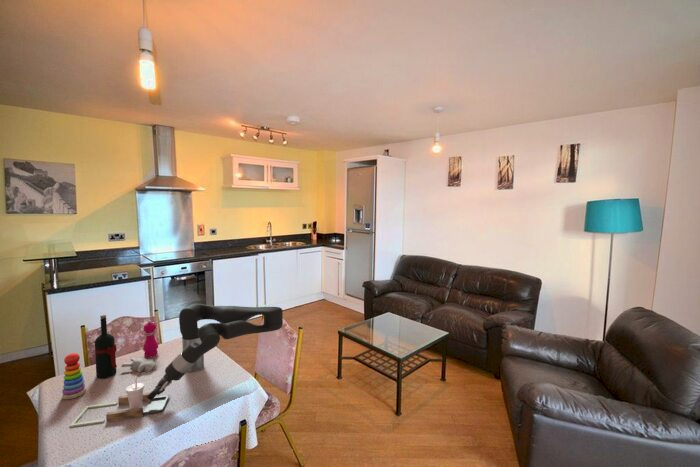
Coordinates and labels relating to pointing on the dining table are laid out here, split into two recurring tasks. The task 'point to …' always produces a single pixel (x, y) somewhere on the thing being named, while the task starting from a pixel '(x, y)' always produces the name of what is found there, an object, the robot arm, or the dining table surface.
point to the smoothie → (135, 394)
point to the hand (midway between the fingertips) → (149, 397)
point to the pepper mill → (150, 340)
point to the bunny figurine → (141, 364)
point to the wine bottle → (105, 352)
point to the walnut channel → (126, 413)
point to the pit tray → (156, 405)
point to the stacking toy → (73, 377)
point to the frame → (90, 421)
